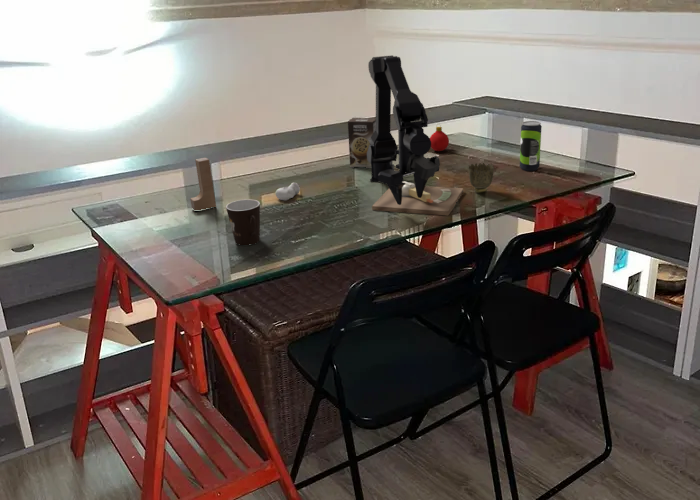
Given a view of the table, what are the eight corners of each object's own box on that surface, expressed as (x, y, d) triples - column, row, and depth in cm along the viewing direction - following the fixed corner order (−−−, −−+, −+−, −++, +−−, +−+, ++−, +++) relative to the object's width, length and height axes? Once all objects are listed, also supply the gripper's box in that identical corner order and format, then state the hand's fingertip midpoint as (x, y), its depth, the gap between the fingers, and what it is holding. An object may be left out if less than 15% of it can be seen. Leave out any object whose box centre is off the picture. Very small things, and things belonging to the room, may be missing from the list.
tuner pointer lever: (397, 193, 199) (396, 182, 198) (409, 190, 201) (408, 179, 200) (425, 205, 188) (425, 194, 187) (438, 201, 190) (438, 191, 189)
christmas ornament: (428, 153, 241) (428, 126, 238) (429, 148, 248) (429, 121, 244) (448, 153, 240) (448, 125, 236) (449, 148, 247) (449, 121, 243)
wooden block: (212, 205, 203) (205, 157, 197) (216, 207, 201) (209, 159, 195) (191, 209, 200) (184, 161, 194) (195, 212, 198) (187, 163, 192)
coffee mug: (232, 236, 179) (227, 200, 175) (264, 233, 179) (260, 198, 175) (228, 253, 168) (223, 216, 164) (263, 250, 169) (258, 213, 165)
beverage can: (541, 167, 219) (544, 121, 213) (535, 172, 214) (538, 125, 208) (523, 165, 222) (525, 120, 216) (516, 170, 217) (518, 124, 211)
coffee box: (349, 167, 231) (346, 121, 225) (354, 162, 237) (352, 117, 230) (375, 168, 228) (372, 121, 222) (379, 163, 234) (377, 117, 228)
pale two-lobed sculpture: (282, 206, 202) (272, 198, 205) (303, 198, 207) (293, 191, 210) (283, 194, 200) (273, 186, 203) (304, 187, 204) (294, 179, 207)
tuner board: (372, 210, 191) (371, 205, 190) (392, 188, 208) (392, 183, 207) (448, 215, 183) (448, 210, 183) (463, 192, 200) (463, 187, 200)
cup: (493, 196, 195) (494, 170, 192) (467, 196, 197) (467, 169, 194) (493, 188, 202) (494, 162, 199) (468, 188, 204) (468, 162, 200)
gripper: (406, 158, 171) (406, 216, 177) (454, 144, 182) (453, 199, 188) (376, 151, 179) (377, 206, 185) (424, 138, 190) (424, 191, 196)
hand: (409, 201), depth 188 cm, fingers open, 8 cm apart
